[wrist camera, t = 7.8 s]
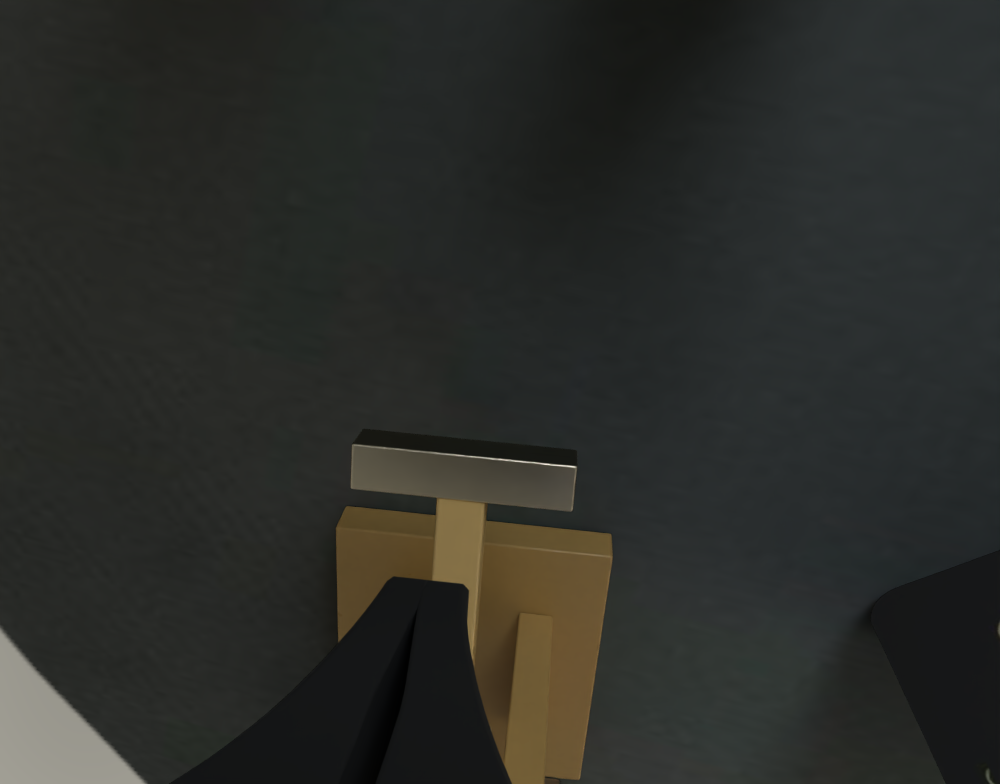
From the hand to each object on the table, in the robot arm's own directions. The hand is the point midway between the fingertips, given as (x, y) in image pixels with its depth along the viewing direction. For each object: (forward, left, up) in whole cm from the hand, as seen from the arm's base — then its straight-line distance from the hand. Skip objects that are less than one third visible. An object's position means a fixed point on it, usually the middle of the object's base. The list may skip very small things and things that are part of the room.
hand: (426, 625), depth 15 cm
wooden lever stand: (-9, +1, -10) cm, 13 cm away
